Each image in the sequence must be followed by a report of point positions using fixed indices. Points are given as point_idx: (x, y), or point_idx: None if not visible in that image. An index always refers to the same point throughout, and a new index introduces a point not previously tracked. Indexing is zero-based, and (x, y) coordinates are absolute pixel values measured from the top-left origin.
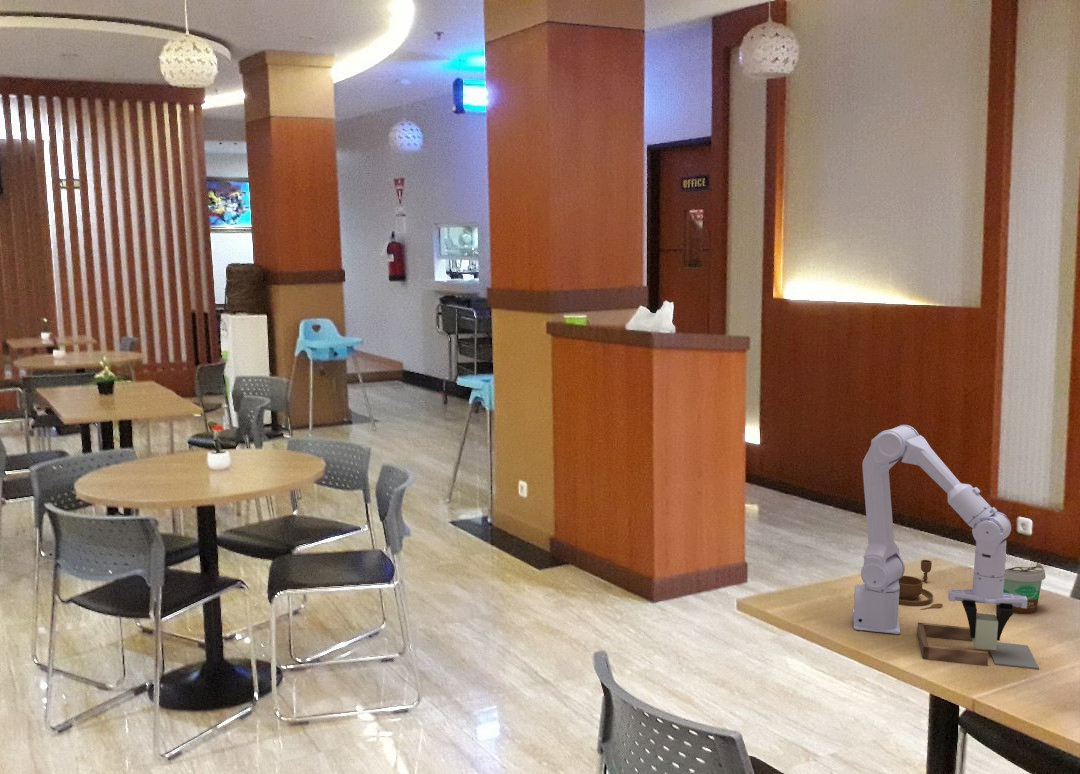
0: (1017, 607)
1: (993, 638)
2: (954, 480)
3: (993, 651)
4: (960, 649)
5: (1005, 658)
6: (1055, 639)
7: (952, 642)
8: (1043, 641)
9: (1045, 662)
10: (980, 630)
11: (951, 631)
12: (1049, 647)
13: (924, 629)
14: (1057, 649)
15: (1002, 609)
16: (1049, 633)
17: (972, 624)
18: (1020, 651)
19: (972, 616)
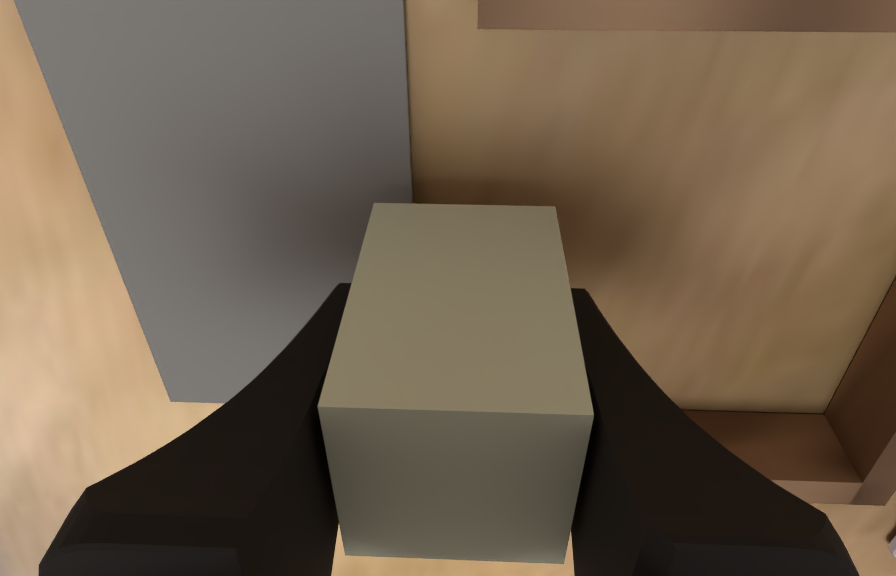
0: None
1: (390, 265)
2: None
3: None
4: (787, 8)
5: (305, 144)
6: (52, 500)
7: (648, 361)
8: (103, 471)
9: (15, 173)
10: (526, 315)
11: None
12: (55, 410)
13: (834, 451)
14: (6, 394)
15: (208, 568)
16: None
17: (621, 372)
18: (203, 304)
19: (662, 445)
